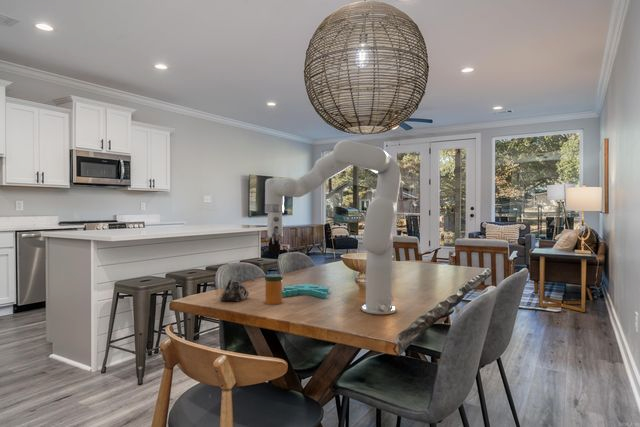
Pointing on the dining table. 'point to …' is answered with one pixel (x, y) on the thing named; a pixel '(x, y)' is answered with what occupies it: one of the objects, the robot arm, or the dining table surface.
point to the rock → (234, 291)
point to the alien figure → (306, 290)
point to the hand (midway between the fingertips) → (274, 252)
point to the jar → (273, 292)
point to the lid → (273, 277)
